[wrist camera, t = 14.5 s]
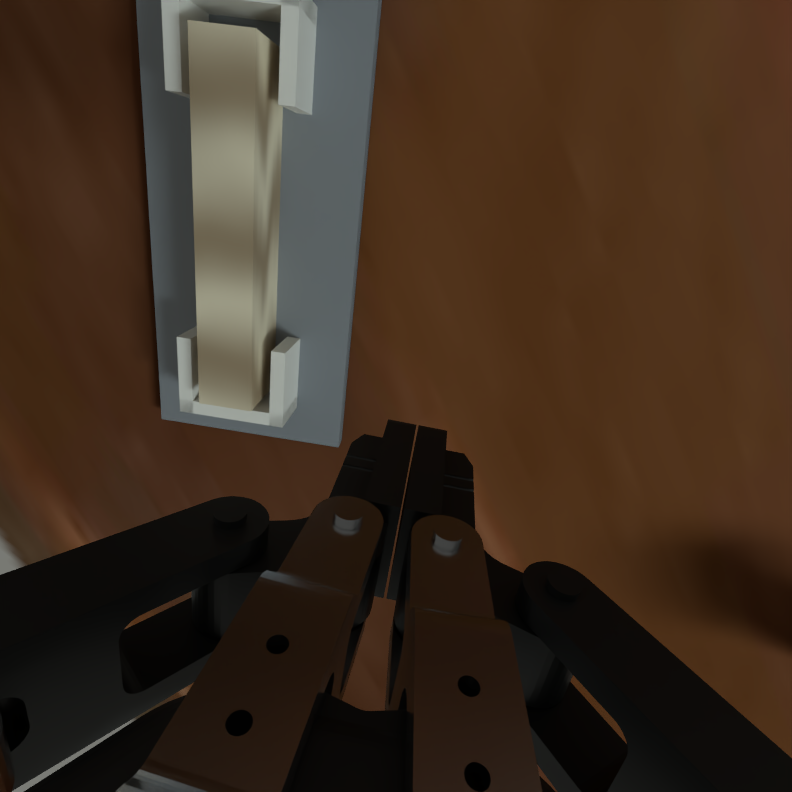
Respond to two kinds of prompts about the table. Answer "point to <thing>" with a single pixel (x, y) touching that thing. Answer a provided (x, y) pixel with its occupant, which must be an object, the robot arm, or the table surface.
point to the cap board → (299, 203)
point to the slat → (235, 208)
